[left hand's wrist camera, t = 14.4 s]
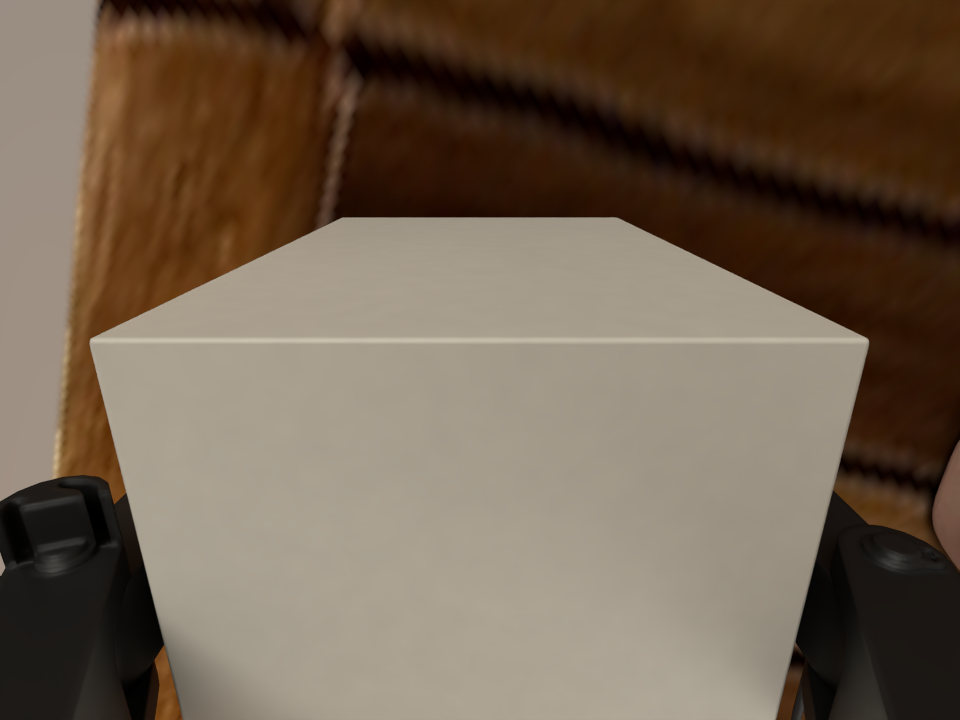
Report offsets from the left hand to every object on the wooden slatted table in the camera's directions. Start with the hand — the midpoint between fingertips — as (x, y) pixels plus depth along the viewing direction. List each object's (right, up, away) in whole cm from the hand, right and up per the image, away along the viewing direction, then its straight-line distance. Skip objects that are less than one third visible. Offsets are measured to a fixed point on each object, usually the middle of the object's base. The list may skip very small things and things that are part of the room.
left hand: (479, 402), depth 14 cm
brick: (0, +1, +3) cm, 3 cm away
